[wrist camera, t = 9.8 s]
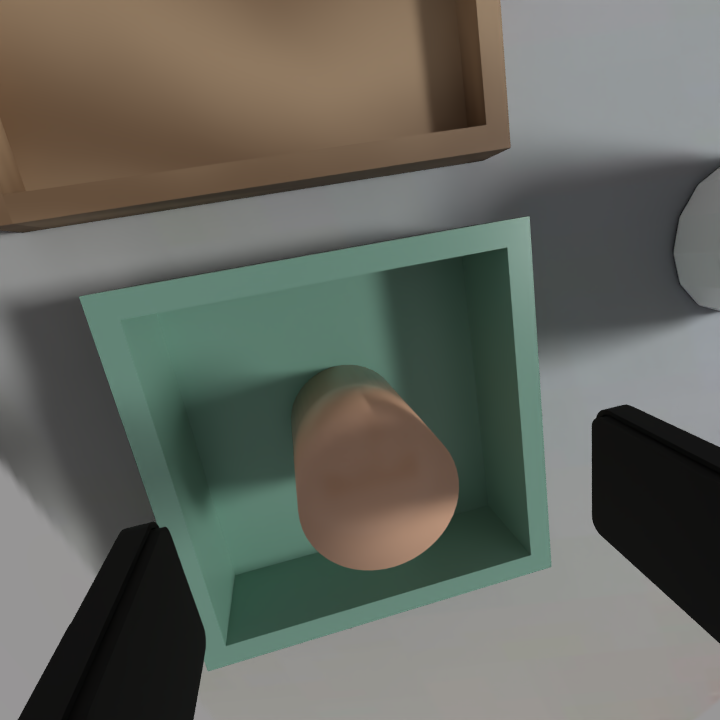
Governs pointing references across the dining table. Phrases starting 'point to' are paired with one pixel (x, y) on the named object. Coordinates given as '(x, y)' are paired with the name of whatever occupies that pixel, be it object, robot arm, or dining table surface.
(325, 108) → the tray
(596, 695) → the dining table surface
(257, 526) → the bin
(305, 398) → the brown smooth lump
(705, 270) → the white cup
